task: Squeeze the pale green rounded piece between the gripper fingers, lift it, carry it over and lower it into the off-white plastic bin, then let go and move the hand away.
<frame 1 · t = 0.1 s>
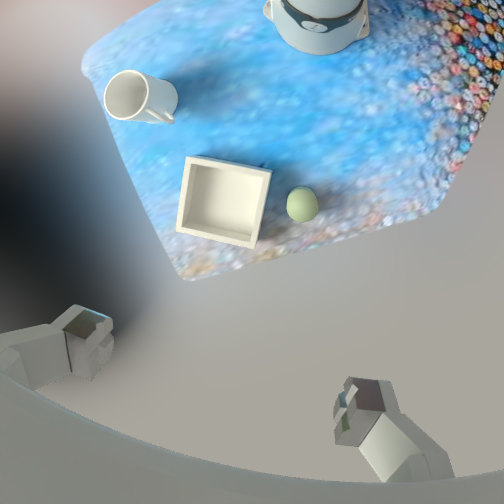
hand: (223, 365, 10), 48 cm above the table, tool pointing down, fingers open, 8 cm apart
pale green rounded piece: (301, 200, 55), on the table
bin: (226, 197, 57), on the table
mug: (162, 106, 53), on the table
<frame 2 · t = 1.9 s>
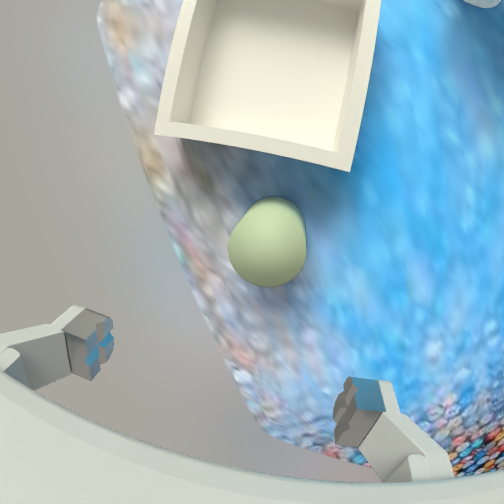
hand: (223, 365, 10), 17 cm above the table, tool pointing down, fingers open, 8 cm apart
pale green rounded piece: (274, 226, 26), on the table
bin: (275, 63, 22), on the table
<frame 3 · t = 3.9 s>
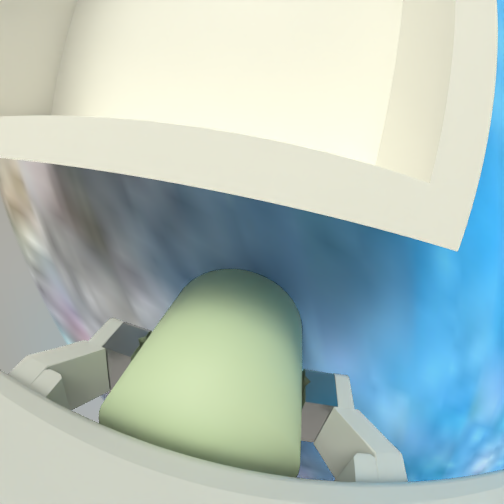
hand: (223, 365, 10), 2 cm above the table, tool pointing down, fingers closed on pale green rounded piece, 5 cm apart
pale green rounded piece: (235, 329, 12), on the table, touching gripper
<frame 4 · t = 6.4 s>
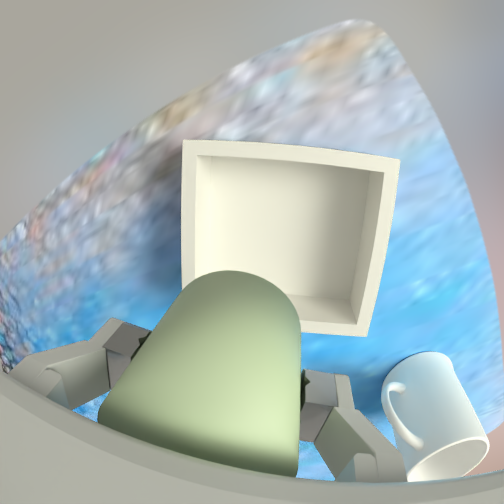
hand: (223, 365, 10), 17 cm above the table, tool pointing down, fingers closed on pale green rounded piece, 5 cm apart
pale green rounded piece: (234, 331, 12), point 15 cm above the table, touching gripper
bin: (285, 226, 26), on the table
mug: (409, 374, 29), on the table
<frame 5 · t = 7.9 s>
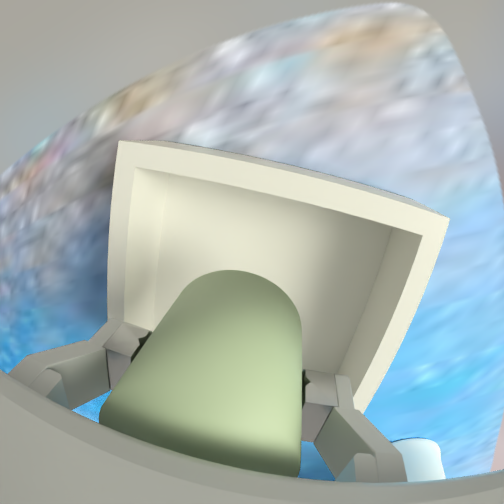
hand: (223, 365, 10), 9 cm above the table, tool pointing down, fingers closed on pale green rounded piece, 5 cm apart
pale green rounded piece: (235, 330, 12), point 7 cm above the table, touching gripper
bin: (262, 277, 19), on the table
mug: (388, 457, 22), on the table
when the fingers open (6 cm above the table, at t = 9.2 s): pale green rounded piece drops 3 cm, resting on bin.
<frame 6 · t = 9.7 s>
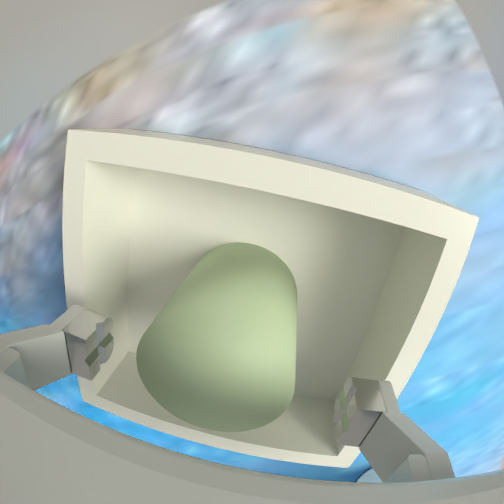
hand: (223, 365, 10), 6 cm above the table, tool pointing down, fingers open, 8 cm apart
pale green rounded piece: (242, 294, 15), point 1 cm above the table, touching bin
bin: (249, 286, 16), on the table
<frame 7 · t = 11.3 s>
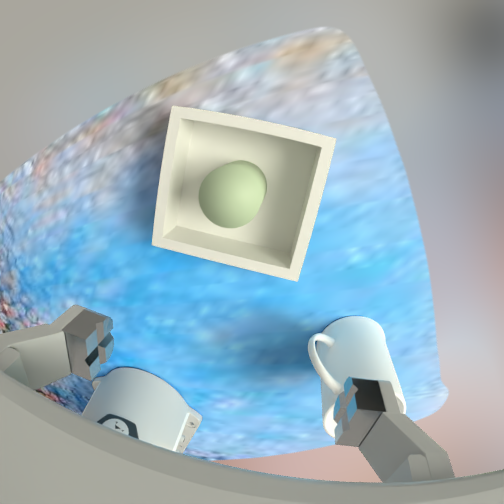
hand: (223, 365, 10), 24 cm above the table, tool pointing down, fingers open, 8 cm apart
pale green rounded piece: (241, 185, 31), point 1 cm above the table, touching bin
bin: (244, 184, 32), on the table
mug: (343, 335, 37), on the table
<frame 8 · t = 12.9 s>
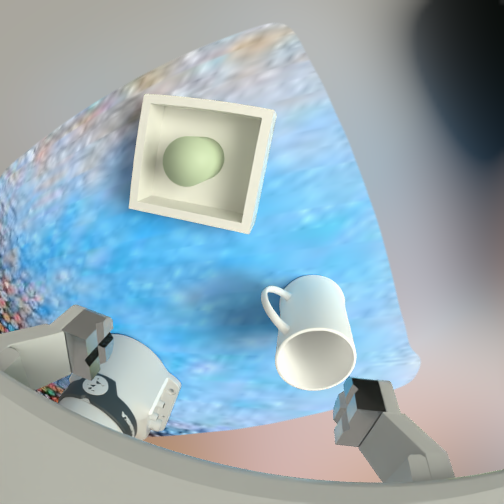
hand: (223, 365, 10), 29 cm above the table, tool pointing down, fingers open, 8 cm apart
pale green rounded piece: (203, 158, 36), point 1 cm above the table, touching bin
bin: (207, 158, 37), on the table
mug: (304, 295, 41), on the table
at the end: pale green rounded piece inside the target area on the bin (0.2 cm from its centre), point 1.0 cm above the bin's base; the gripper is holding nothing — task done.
